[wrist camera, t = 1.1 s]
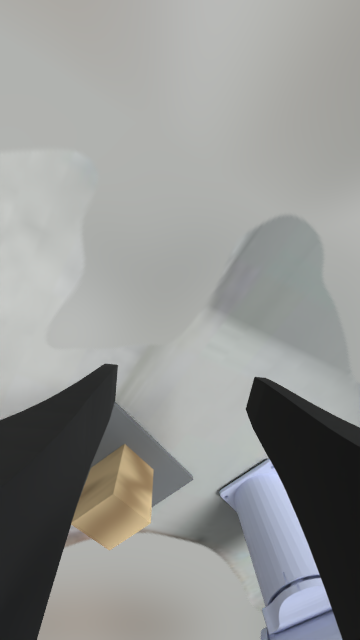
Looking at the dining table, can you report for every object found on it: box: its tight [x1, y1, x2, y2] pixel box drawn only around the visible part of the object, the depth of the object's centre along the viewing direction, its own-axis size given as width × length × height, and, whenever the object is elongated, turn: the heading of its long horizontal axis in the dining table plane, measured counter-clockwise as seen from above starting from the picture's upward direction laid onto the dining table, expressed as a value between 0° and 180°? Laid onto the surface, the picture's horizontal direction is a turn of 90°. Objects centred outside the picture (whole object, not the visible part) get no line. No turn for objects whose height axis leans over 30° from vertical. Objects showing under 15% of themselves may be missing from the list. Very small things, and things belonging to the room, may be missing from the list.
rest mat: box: [79, 403, 193, 508], centre depth 23 cm, size 14×12×1 cm
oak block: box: [71, 444, 154, 550], centre depth 20 cm, size 5×5×5 cm
